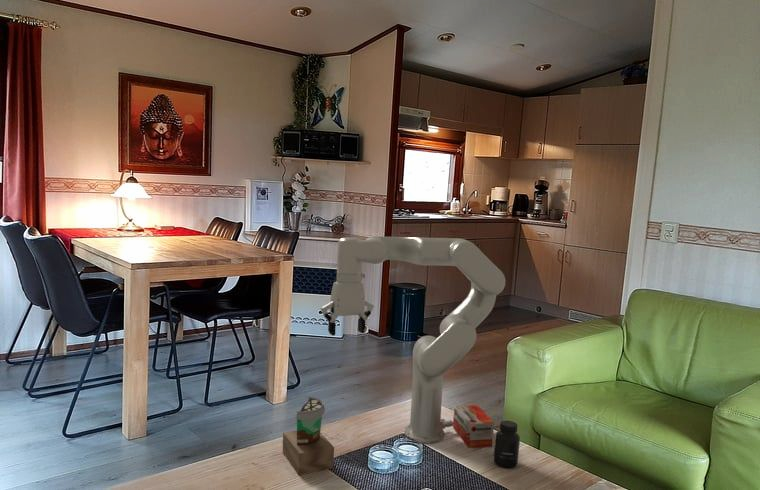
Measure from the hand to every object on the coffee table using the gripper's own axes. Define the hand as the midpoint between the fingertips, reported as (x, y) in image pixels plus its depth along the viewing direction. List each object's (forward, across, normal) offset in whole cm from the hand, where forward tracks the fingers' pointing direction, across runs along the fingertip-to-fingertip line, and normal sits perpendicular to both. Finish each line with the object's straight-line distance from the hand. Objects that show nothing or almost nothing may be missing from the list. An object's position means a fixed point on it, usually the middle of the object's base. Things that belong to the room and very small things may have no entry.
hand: (346, 333), depth 175 cm
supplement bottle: (+32, -36, +35) cm, 60 cm away
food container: (+26, +15, +12) cm, 33 cm away
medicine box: (+33, -38, +17) cm, 53 cm away
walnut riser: (+32, +16, +12) cm, 38 cm away
